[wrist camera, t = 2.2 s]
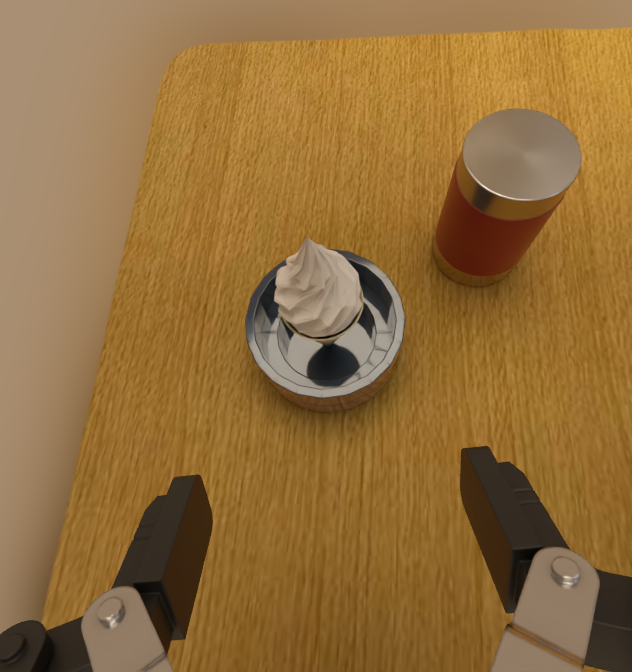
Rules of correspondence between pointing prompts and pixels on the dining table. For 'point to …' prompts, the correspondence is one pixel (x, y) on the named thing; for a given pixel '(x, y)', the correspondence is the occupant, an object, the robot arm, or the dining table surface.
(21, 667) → the robot arm
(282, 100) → the dining table surface
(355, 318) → the ice cream cone
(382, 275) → the bowl
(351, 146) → the dining table surface
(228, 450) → the dining table surface
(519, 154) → the tin can
